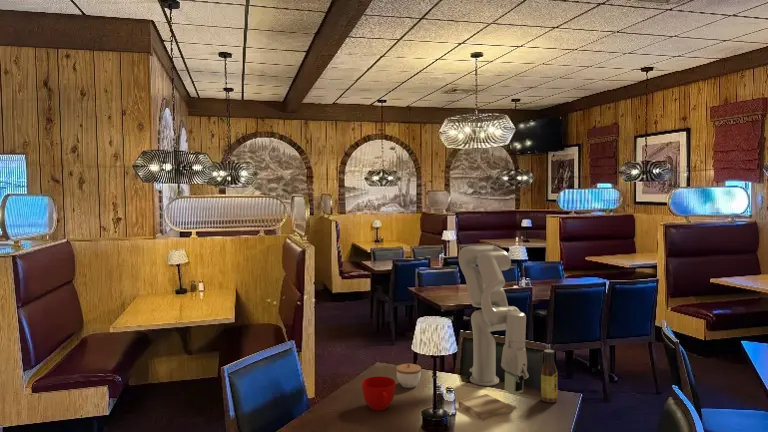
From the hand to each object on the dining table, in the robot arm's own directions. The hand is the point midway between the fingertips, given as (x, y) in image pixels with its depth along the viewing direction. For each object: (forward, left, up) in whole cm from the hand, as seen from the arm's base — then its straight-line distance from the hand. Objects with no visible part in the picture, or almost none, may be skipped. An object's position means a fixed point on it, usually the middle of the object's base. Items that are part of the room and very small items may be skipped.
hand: (513, 387), depth 217 cm
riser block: (-1, -14, -7) cm, 16 cm away
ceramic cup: (-22, -48, -6) cm, 53 cm away
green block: (0, 0, -1) cm, 1 cm away
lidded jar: (-38, -25, -6) cm, 46 cm away
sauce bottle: (+5, +14, -6) cm, 16 cm away
